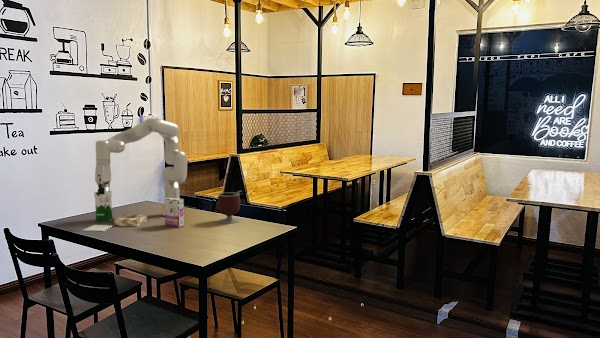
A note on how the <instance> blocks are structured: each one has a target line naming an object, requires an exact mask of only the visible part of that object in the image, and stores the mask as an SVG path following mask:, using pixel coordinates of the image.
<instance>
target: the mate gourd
mask: <svg viewBox="0 0 600 338" xmlns="http://www.w3.org/2000/svg"><path fill="white" fill-rule="evenodd" d="M241 192H242V190H238V191H236V192H230V191H229V192H221V193H220V192H219V193H218V195H217V208H218V211H219V213H221V214H222V215H225V216H226V218H225V217H224V218H221V219H218V220H219V221H218V222H219V223H220V224H224V225H225V224H226V225H229V224H237V223H239V222H240V219H239V218H233V215H236V214H238V212H239V211H240V208H241V197H240V193H241Z"/></svg>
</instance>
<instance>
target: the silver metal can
mask: <svg viewBox="0 0 600 338" xmlns="http://www.w3.org/2000/svg"><path fill="white" fill-rule="evenodd" d="M109 189H110V186H109V184H104V190H105V194H100V202H109Z"/></svg>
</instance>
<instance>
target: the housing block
mask: <svg viewBox="0 0 600 338" xmlns="http://www.w3.org/2000/svg"><path fill="white" fill-rule="evenodd" d="M113 219H114V220H113V222H114V226H115V225H119V226H118V227H139V226H141V225H143V224H144V222H145V223H146V222H148V214H142V213H141V214H140V213H139V214H138V213H137V214H136V213H134V214H133V213H124V214H123V215H120V216H118V217H116V218H113Z"/></svg>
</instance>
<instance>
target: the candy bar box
mask: <svg viewBox="0 0 600 338" xmlns="http://www.w3.org/2000/svg"><path fill="white" fill-rule="evenodd" d="M163 201H164V212H165V216H164V225H165V226H167V227H174V228H181V227H185V212H184V209H185V208H184V207H185V206H184V205H185V203H184V202H185V199H184V198H180V199H179V198H165V197H164V200H163Z"/></svg>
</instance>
